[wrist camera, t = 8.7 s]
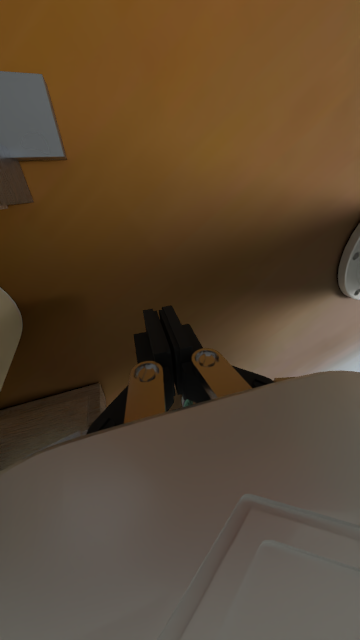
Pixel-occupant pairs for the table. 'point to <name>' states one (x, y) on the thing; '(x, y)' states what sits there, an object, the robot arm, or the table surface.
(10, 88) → the vise bed
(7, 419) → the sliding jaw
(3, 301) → the lidded cream tub
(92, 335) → the table surface
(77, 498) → the robot arm
